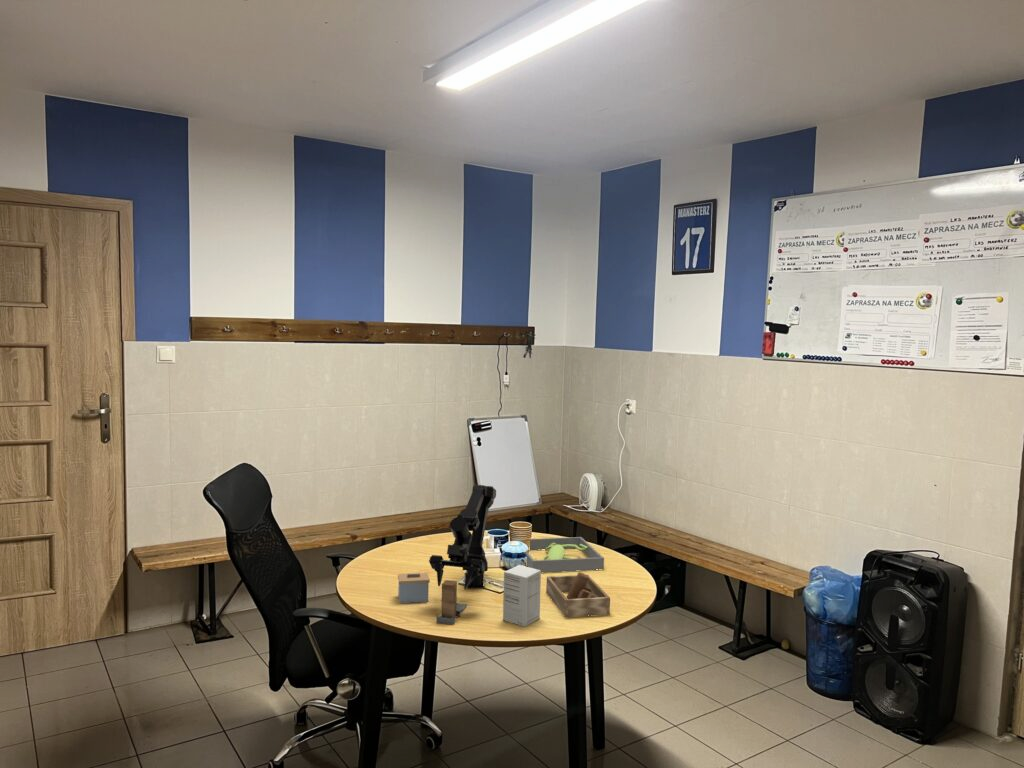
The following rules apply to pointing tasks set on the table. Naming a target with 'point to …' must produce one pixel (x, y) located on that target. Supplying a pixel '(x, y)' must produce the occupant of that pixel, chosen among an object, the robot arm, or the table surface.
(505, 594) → the supplement box
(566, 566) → the tray
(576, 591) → the wooden block set
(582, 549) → the figurine
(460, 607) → the pad
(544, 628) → the table surface
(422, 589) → the toolbox
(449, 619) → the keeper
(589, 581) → the block corral
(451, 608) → the brown block
